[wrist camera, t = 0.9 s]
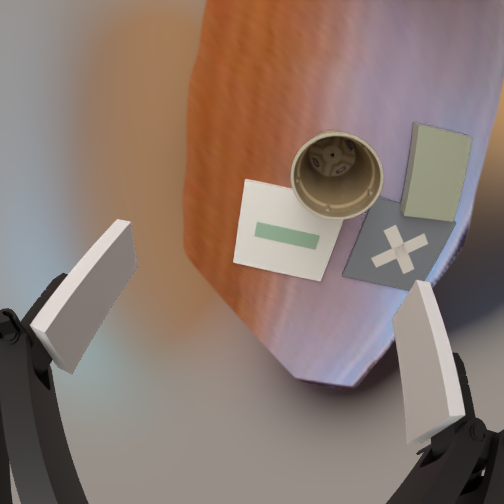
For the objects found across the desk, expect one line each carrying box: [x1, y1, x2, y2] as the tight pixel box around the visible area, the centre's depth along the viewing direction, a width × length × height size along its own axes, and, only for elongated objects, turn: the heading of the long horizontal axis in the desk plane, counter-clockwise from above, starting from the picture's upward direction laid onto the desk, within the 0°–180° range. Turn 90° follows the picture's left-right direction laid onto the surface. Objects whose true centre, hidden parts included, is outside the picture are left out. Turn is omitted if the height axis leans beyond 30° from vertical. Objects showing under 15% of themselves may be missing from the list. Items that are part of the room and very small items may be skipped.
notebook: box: [400, 122, 472, 222], centre depth 32 cm, size 12×8×2 cm, turn 2°
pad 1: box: [233, 179, 343, 282], centre depth 42 cm, size 14×14×1 cm
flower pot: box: [290, 130, 384, 220], centre depth 31 cm, size 9×9×9 cm
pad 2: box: [342, 197, 456, 291], centre depth 40 cm, size 14×14×1 cm
